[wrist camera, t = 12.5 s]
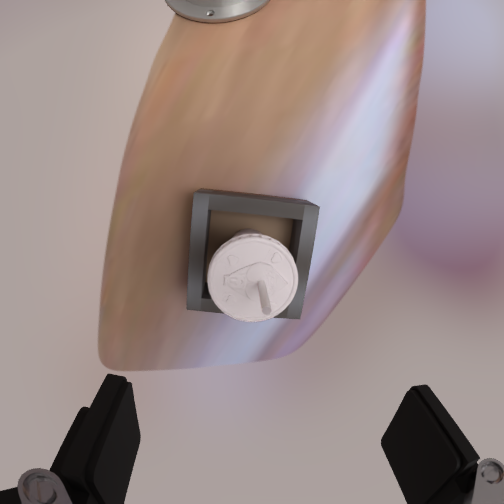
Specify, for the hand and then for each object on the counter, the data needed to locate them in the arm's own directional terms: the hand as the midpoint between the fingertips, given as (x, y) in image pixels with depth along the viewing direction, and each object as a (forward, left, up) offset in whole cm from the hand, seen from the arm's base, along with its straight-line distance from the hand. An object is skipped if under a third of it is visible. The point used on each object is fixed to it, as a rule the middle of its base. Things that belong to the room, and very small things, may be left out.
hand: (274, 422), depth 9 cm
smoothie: (0, 0, -23) cm, 23 cm away
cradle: (0, 0, -23) cm, 23 cm away
